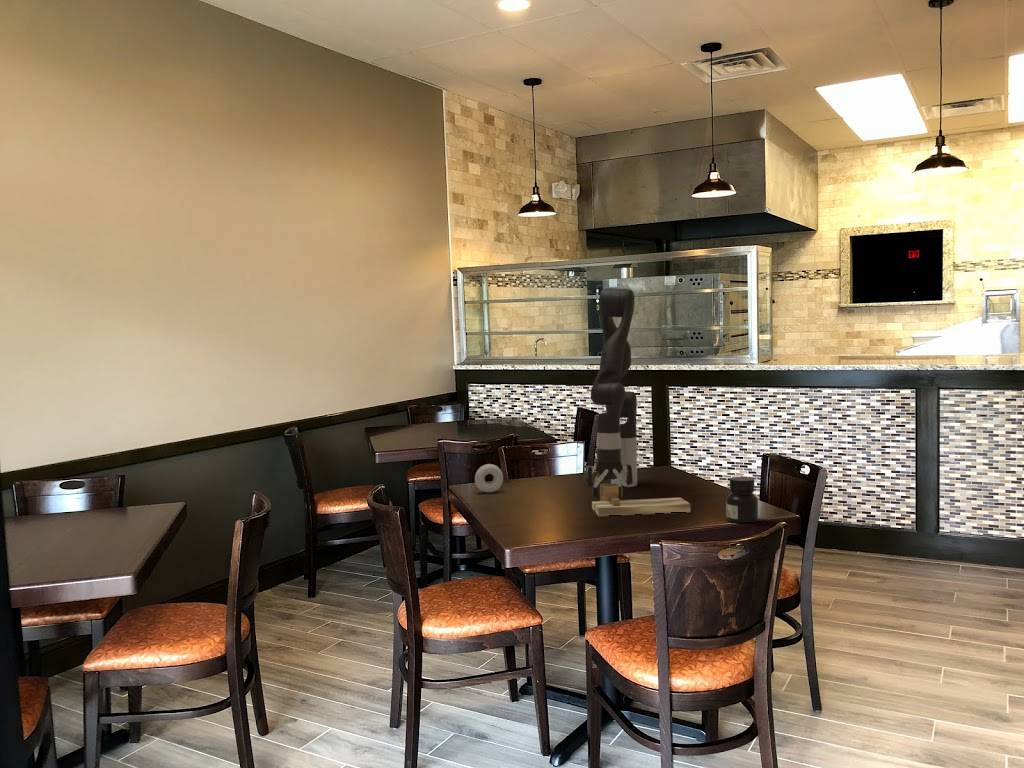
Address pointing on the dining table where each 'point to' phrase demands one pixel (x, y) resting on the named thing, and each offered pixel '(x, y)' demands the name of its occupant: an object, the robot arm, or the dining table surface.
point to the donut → (481, 478)
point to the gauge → (610, 493)
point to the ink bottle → (742, 501)
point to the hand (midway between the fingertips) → (609, 498)
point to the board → (641, 506)
